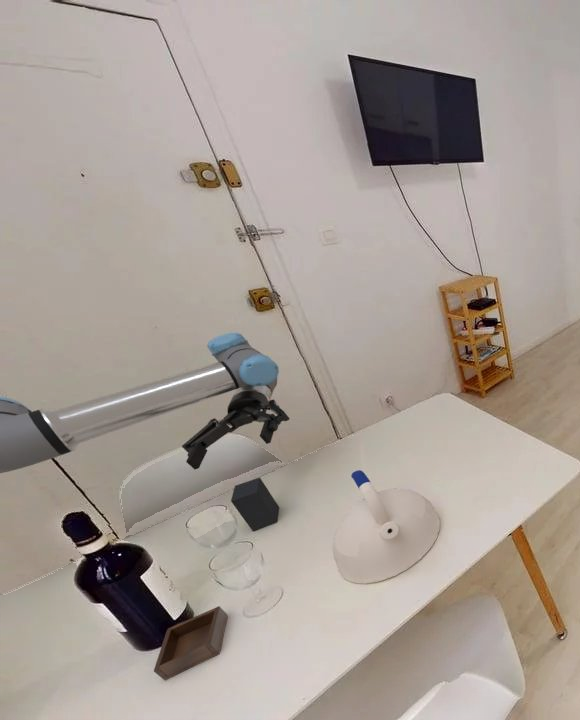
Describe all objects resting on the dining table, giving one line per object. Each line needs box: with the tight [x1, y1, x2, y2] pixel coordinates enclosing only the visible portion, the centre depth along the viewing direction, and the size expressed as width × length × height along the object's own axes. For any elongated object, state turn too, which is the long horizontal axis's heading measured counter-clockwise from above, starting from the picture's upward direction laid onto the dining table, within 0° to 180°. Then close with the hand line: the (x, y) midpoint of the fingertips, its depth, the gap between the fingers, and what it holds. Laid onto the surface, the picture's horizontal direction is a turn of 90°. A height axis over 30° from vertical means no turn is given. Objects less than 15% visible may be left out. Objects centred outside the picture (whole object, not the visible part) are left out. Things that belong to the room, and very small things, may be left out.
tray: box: [153, 605, 229, 681], centre depth 72 cm, size 7×8×3 cm
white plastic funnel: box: [331, 469, 441, 585], centre depth 86 cm, size 20×21×18 cm
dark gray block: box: [230, 477, 280, 532], centre depth 94 cm, size 4×6×10 cm
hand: (229, 451), depth 93 cm, fingers open, 13 cm apart
